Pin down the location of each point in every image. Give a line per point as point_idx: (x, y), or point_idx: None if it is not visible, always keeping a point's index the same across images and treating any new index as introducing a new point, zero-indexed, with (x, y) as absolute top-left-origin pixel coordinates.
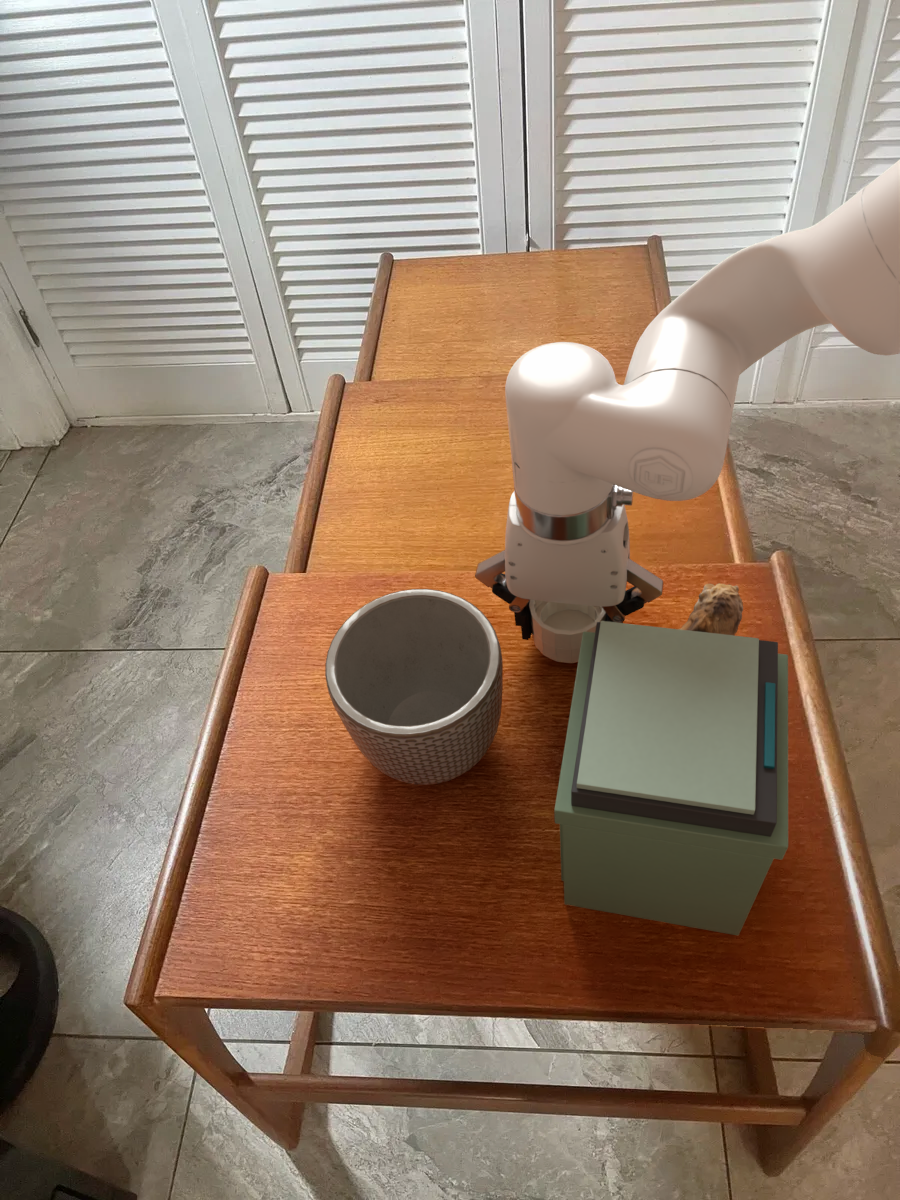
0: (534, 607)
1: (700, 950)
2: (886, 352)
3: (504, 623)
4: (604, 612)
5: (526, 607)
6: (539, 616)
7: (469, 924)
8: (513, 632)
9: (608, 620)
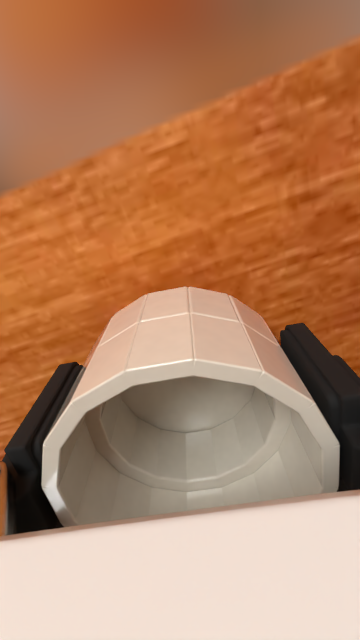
0: (80, 486)
1: None
2: None
3: (23, 352)
4: (333, 487)
5: (57, 518)
6: (103, 436)
7: None
8: (55, 367)
9: (343, 486)
